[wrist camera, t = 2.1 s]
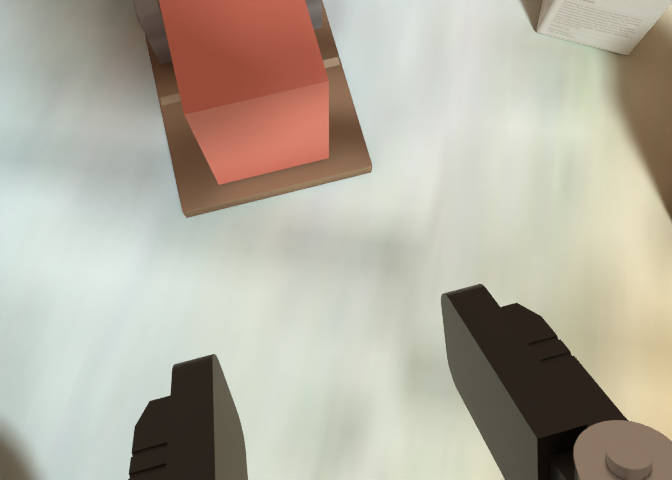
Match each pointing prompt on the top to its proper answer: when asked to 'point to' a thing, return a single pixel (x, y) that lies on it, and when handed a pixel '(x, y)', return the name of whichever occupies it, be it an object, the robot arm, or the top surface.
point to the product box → (601, 21)
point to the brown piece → (208, 195)
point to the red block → (250, 83)
